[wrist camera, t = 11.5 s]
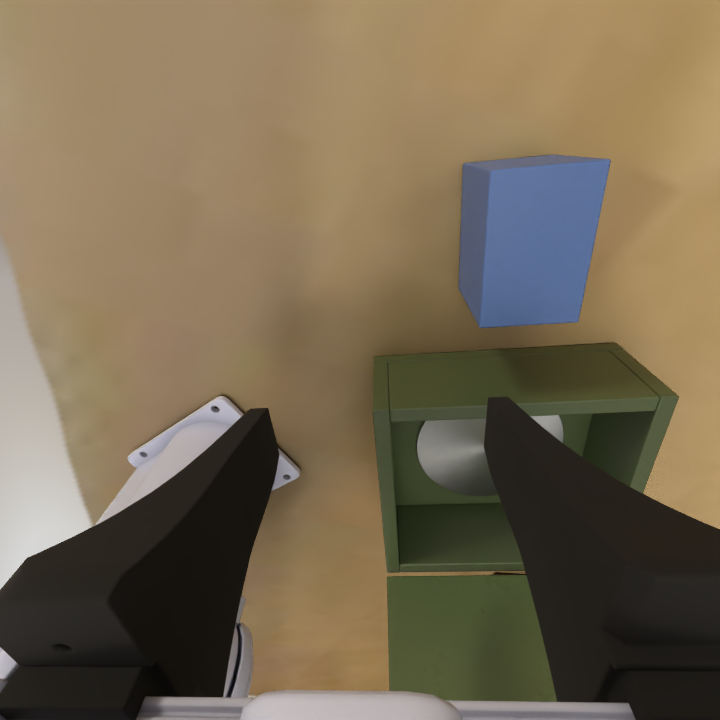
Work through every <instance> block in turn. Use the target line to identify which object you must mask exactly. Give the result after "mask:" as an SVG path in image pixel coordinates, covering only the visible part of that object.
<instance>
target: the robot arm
mask: <svg viewBox="0 0 720 720" xmlns="http://www.w3.org/2000/svg"><path fill="white" fill-rule="evenodd" d="M214 406H217V407H218V408H219V409H216V408H215V407H214ZM484 450H485V454H486V458H487V463H488V466H489V470H490V474H491V477H492V480H493V482H494V485H495V488H496V490H497V493H498V496H499V498H500V501H501V503H502V506H503V508H504V511H505V513H506V516H507V519H508V521H509V524H510V526H511V529H512V531H513V534H514V537H515V539H516V542H517V545H518V548H519V551H520V554H521V558H522V561H523V565H524V569H525V572H526V576H527V579H528V583H529V587H530V590H531V594H532V598H533V602H534V606H535V610H536V613H537V617H538V621H539V625H540V629H541V634H542V638H543V642H544V646H545V650H546V654H547V658H548V663H549V667H550V672H551V676H552V680H553V685H554V689H555V694H556V698H557V702H527V701H451V700H443V699H441V698H439V697H437V696H435V695H431V694H424V693H416V692H409V691H336V690H282V691H273V692H265V693H262V694H260V695H259V696H257V697H255V698H247V697H248V694H249V690H250V685H251V680H252V673H253V641H252V636H251V632H250V630H249V628H248V627H247V626H246V625H245V624H243V623H241V622H239V621H240V618H241V614H242V611H243V607H244V604H245V600H246V599H245V598H244V597H243V596H241V595H242V590H243V585H244V581H245V576H246V572H247V568H248V563H249V559H250V555H251V552H252V548H253V545H254V541H255V539H256V536H257V533H258V530H259V527H260V524H261V521H262V518H263V515H264V512H265V509H266V506H267V503H268V500H269V497H270V494H271V491H273V490H275V489H277V488H279V487H281V486H283V485H285V484H287V483H289V482H291V481H293V480H295V479H297V478H298V477H299V475H300V469H299V468H298V467H297V466H296V465H295V464H294V463H293V462H292V461H291V460H290V459H289V458H288V457H287V456H286V455H285V454H284V453H283V452H282V451H281V450H280V449H279V448H278V446H277V442H276V438H275V434H274V430H273V426H272V422H271V418H270V414H269V410H268V408H256V409H250V410H248V411H247V412H246V413H245V414H243V413H242V412H241V411H240V410H239V409H238V408H237V407H236V406H235V405H234V404H233V403H232V402H231V401H230V400H229V399H228V398H226V397H224V396H219V397H217V398H215V399H214V400H212V401H210V402H209V403H207V404H206V405H204V406H203V407H201V408H200V409H198V410H197V411H195V412H193V413H192V414H190V415H189V416H187V417H186V418H184V419H183V420H181V421H179V422H178V423H176V424H175V425H173V426H172V427H170V428H169V429H167V430H166V431H164V432H162V433H161V434H159V435H158V436H156V437H155V438H153V439H152V440H150V441H149V442H147V443H145V444H144V445H142V446H141V447H139V448H138V449H136V450H135V451H133V452H131V454H130V455H129V456H128V461H129V462H130V463H131V464H132V465H133V466H134V467H136V468H137V469H136V470H135V471H134V473H133V474H132V475H131V477H130V478H129V480H128V481H127V482H126V484H125V485H124V486H123V488H122V489H121V490H120V492H119V493H118V494H117V496H116V497H115V498H114V500H113V501H112V502H111V504H110V505H109V507H108V508H107V509H106V511H105V512H104V513H103V515H102V516H101V517H100V519H99V520H98V521H97V523H96V524H95V525H94V526H93V527H91V528H89V529H88V530H86V531H84V532H82V533H80V534H78V535H76V536H74V537H72V538H70V539H68V540H65V541H64V542H61V543H59V544H57V545H55V546H53V547H50V548H48V549H46V550H44V551H42V552H40V553H38V554H36V555H33V556H31V557H28V558H27V559H26V560H25V561H24V563H23V564H22V565H21V566H20V567H19V568H18V570H17V571H16V572H15V573H14V574H13V575H12V577H11V578H10V579H9V580H8V581H7V583H6V584H5V585H4V586H3V587H2V588H1V590H0V720H720V529H717V528H715V527H712V526H710V525H707V524H705V523H703V522H700V521H698V520H696V519H694V518H692V517H689V516H687V515H685V514H683V513H681V512H678V511H676V510H674V509H672V508H670V507H668V506H666V505H664V504H662V503H660V502H658V501H656V500H654V499H652V498H650V497H648V496H646V495H644V494H642V493H640V492H639V491H637V490H635V489H633V488H631V487H629V486H627V485H626V484H624V483H622V482H620V481H619V480H617V479H615V478H614V477H612V476H610V475H609V474H607V473H606V472H604V471H602V470H601V469H599V468H598V467H596V466H594V465H593V464H591V463H590V462H588V461H587V460H585V459H584V458H582V457H581V456H580V455H578V454H577V453H576V452H574V451H573V450H571V449H570V448H569V447H567V446H566V445H565V444H563V443H562V442H561V441H559V440H558V439H557V438H556V437H554V436H553V435H552V434H551V433H549V432H548V431H547V430H546V429H544V428H543V427H542V426H541V425H540V424H538V423H537V422H536V421H535V420H534V419H533V418H532V417H530V416H529V415H528V414H527V413H526V412H525V411H524V410H522V409H521V408H520V407H519V406H518V405H517V404H516V403H515V402H513V401H512V400H511V399H510V398H509V397H488V403H487V415H486V426H485V438H484ZM286 474H287V475H289V476H287V475H286Z"/></svg>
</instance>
